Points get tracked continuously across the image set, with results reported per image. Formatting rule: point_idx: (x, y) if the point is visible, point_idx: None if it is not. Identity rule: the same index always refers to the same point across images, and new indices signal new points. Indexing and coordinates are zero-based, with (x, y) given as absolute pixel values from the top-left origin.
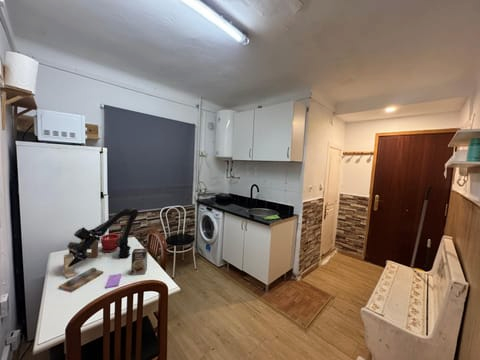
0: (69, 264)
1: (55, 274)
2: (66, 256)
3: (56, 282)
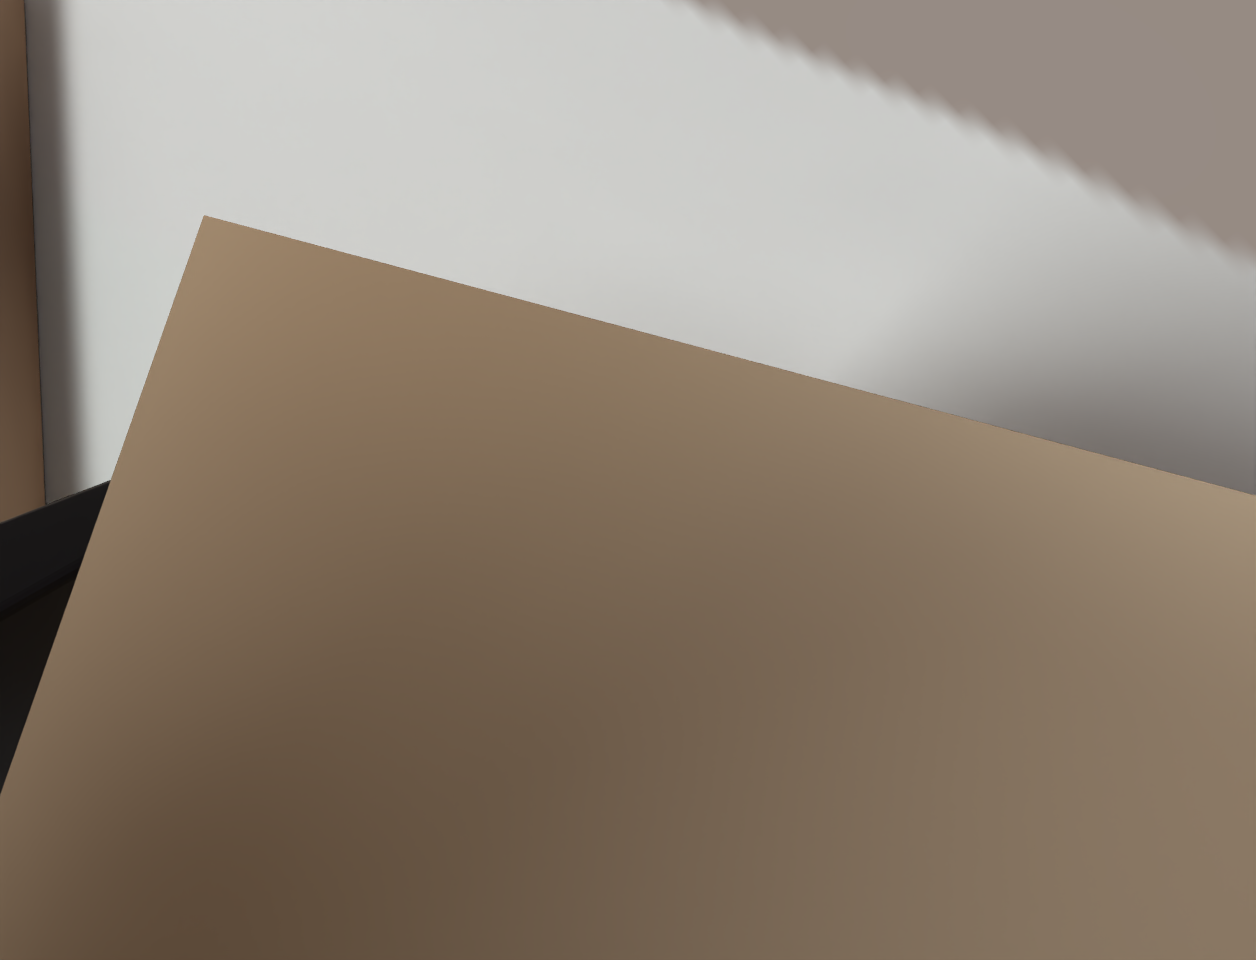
0: (71, 509)
1: (1209, 434)
2: (289, 435)
3: (481, 146)
